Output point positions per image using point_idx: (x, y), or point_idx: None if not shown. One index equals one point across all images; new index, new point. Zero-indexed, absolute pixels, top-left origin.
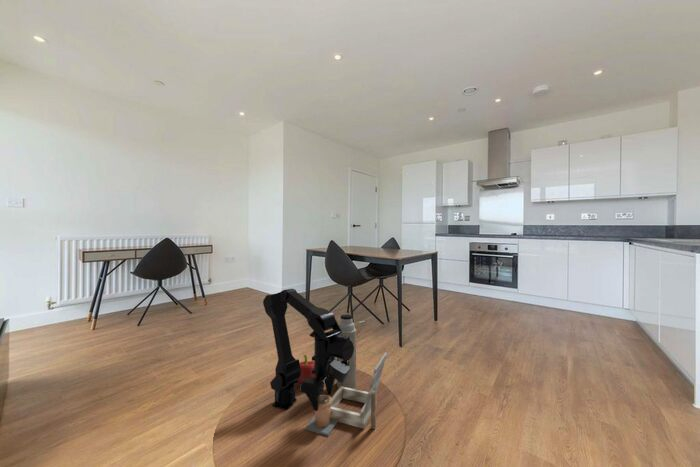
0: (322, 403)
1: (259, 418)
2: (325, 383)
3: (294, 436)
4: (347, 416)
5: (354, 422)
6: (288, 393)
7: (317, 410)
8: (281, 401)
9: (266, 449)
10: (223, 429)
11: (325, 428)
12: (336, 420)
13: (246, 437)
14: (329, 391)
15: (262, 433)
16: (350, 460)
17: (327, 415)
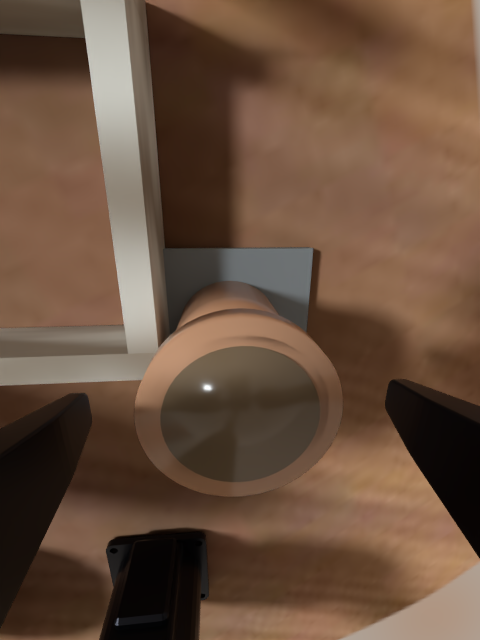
0: (311, 389)
1: (296, 575)
2: (18, 580)
3: (357, 404)
4: (147, 157)
5: (147, 93)
6: (173, 629)
7: (406, 380)
8: (199, 593)
9: None
10: (384, 617)
11: (272, 288)
12: (174, 255)
13: (405, 545)
14: (69, 431)
15: (372, 517)
16: (467, 9)
17: (261, 304)
